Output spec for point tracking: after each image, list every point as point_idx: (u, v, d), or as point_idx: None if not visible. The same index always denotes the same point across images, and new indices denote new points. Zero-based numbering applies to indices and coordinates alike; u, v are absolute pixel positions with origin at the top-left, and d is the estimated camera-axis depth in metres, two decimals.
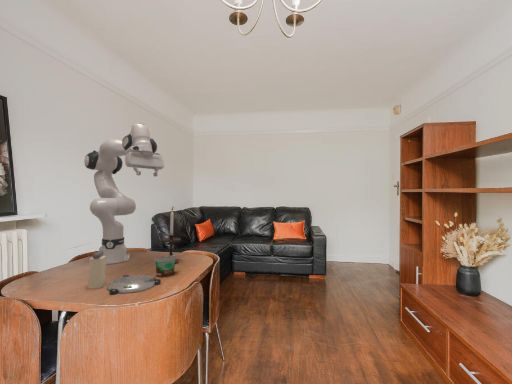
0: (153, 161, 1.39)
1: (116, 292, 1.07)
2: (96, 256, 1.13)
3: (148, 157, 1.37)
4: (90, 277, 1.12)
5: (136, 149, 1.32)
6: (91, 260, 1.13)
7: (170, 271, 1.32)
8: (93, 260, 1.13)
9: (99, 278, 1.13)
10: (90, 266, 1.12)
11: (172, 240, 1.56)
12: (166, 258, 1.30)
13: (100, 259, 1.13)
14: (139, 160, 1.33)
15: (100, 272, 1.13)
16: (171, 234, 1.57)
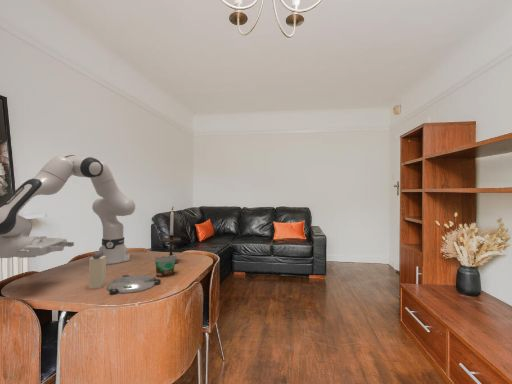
0: None
1: (116, 292, 1.07)
2: (96, 256, 1.13)
3: None
4: (90, 277, 1.12)
5: None
6: (91, 260, 1.13)
7: (170, 271, 1.32)
8: (93, 260, 1.13)
9: (99, 278, 1.13)
10: (90, 266, 1.12)
11: (172, 240, 1.56)
12: (166, 258, 1.30)
13: (100, 259, 1.13)
14: None
15: (100, 272, 1.13)
16: (171, 234, 1.57)
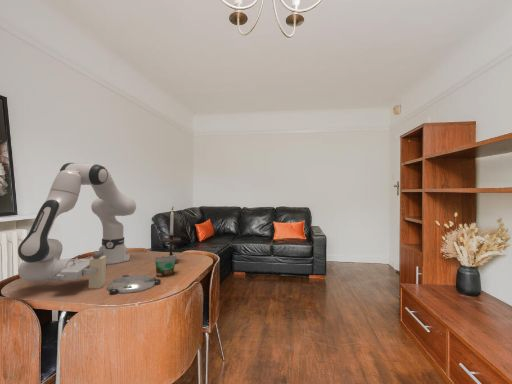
0: None
1: (116, 292, 1.07)
2: (96, 256, 1.13)
3: None
4: (90, 277, 1.12)
5: None
6: (91, 260, 1.13)
7: (170, 271, 1.32)
8: (93, 260, 1.13)
9: (99, 278, 1.13)
10: (90, 266, 1.12)
11: (172, 240, 1.56)
12: (166, 258, 1.30)
13: (100, 259, 1.13)
14: None
15: (100, 272, 1.13)
16: (171, 234, 1.57)
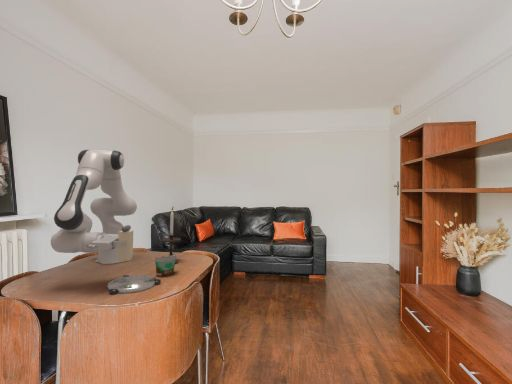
0: None
1: (116, 292, 1.07)
2: (125, 229, 1.14)
3: None
4: (119, 250, 1.14)
5: None
6: (120, 233, 1.14)
7: (170, 271, 1.32)
8: (122, 233, 1.15)
9: (127, 251, 1.15)
10: (119, 239, 1.14)
11: (172, 240, 1.56)
12: (166, 258, 1.30)
13: (128, 232, 1.15)
14: None
15: (128, 245, 1.15)
16: (171, 234, 1.57)
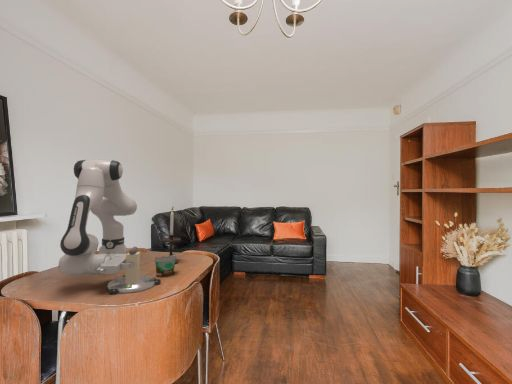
0: None
1: (116, 292, 1.07)
2: (132, 252, 1.15)
3: None
4: (126, 272, 1.15)
5: None
6: (127, 256, 1.15)
7: (170, 271, 1.32)
8: (129, 256, 1.15)
9: (135, 273, 1.16)
10: (126, 262, 1.15)
11: (172, 240, 1.56)
12: (166, 258, 1.30)
13: (136, 255, 1.16)
14: None
15: (136, 268, 1.16)
16: (171, 234, 1.57)
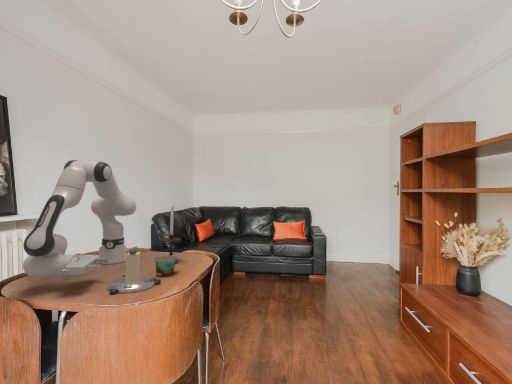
0: None
1: (116, 292, 1.07)
2: (132, 252, 1.15)
3: None
4: (127, 272, 1.15)
5: None
6: (127, 256, 1.15)
7: (170, 271, 1.32)
8: (129, 256, 1.15)
9: (135, 273, 1.16)
10: (127, 262, 1.15)
11: (172, 240, 1.56)
12: (166, 258, 1.30)
13: (136, 255, 1.16)
14: None
15: (136, 268, 1.16)
16: (171, 234, 1.57)
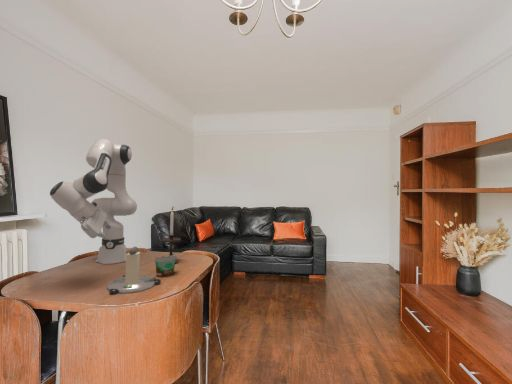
0: None
1: (116, 292, 1.07)
2: (132, 252, 1.15)
3: None
4: (127, 272, 1.15)
5: None
6: (127, 256, 1.15)
7: (170, 271, 1.32)
8: (129, 256, 1.15)
9: (135, 273, 1.16)
10: (127, 262, 1.15)
11: (172, 240, 1.56)
12: (166, 258, 1.30)
13: (136, 255, 1.16)
14: None
15: (136, 268, 1.16)
16: (171, 234, 1.57)
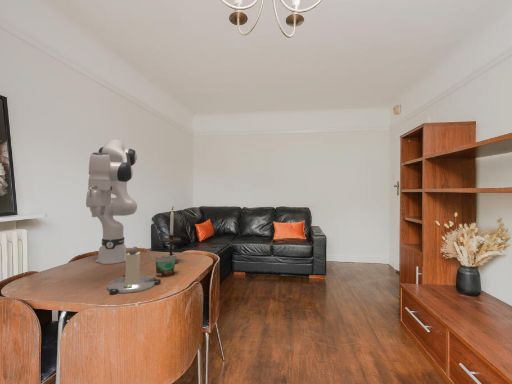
0: None
1: (116, 292, 1.07)
2: (132, 252, 1.15)
3: None
4: (127, 272, 1.15)
5: None
6: (127, 256, 1.15)
7: (170, 271, 1.32)
8: (129, 256, 1.15)
9: (135, 273, 1.16)
10: (127, 262, 1.15)
11: (172, 240, 1.56)
12: (166, 258, 1.30)
13: (136, 255, 1.16)
14: None
15: (136, 268, 1.16)
16: (171, 234, 1.57)
